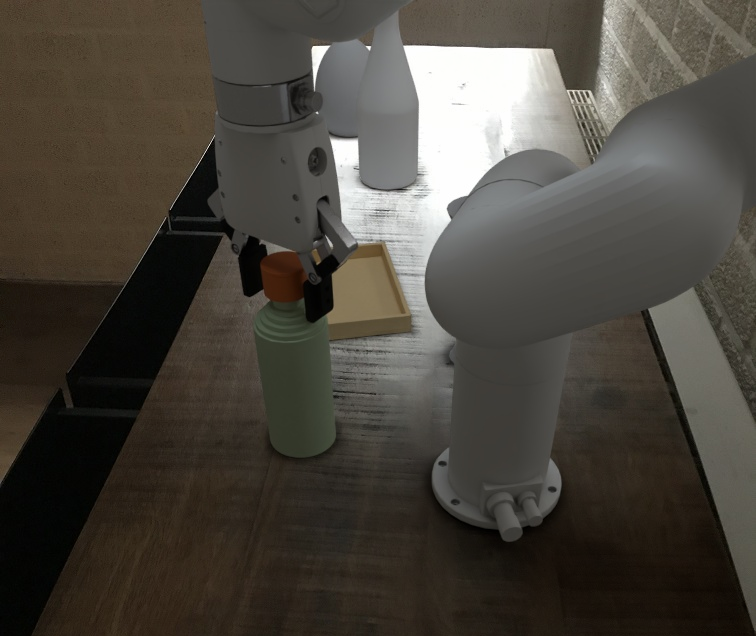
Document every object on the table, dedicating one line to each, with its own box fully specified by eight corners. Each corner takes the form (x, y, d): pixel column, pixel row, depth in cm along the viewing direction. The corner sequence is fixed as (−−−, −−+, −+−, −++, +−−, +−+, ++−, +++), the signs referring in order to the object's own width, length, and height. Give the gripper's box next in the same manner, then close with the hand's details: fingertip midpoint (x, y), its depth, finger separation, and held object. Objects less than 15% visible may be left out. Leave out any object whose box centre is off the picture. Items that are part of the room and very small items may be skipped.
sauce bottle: (340, 453, 82) (328, 283, 69) (272, 461, 82) (246, 291, 68) (331, 411, 87) (319, 245, 73) (268, 419, 87) (243, 252, 73)
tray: (411, 331, 98) (411, 315, 96) (296, 343, 97) (294, 327, 95) (385, 256, 112) (384, 241, 110) (284, 266, 110) (282, 251, 108)
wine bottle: (427, 185, 128) (432, -37, 107) (371, 196, 125) (366, -29, 104) (403, 163, 134) (404, -50, 113) (351, 173, 132) (341, -43, 110)
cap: (293, 274, 74) (290, 246, 72) (318, 292, 72) (316, 264, 70) (255, 289, 73) (251, 260, 71) (279, 308, 70) (276, 279, 68)
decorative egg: (391, 119, 149) (390, 28, 138) (374, 144, 140) (372, 49, 130) (328, 114, 151) (323, 25, 140) (308, 138, 142) (301, 45, 132)
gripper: (386, 103, 59) (388, 314, 71) (218, 63, 66) (247, 260, 79) (322, 135, 55) (336, 353, 67) (150, 88, 62) (192, 292, 75)
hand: (288, 301), depth 73 cm, fingers open, 7 cm apart
